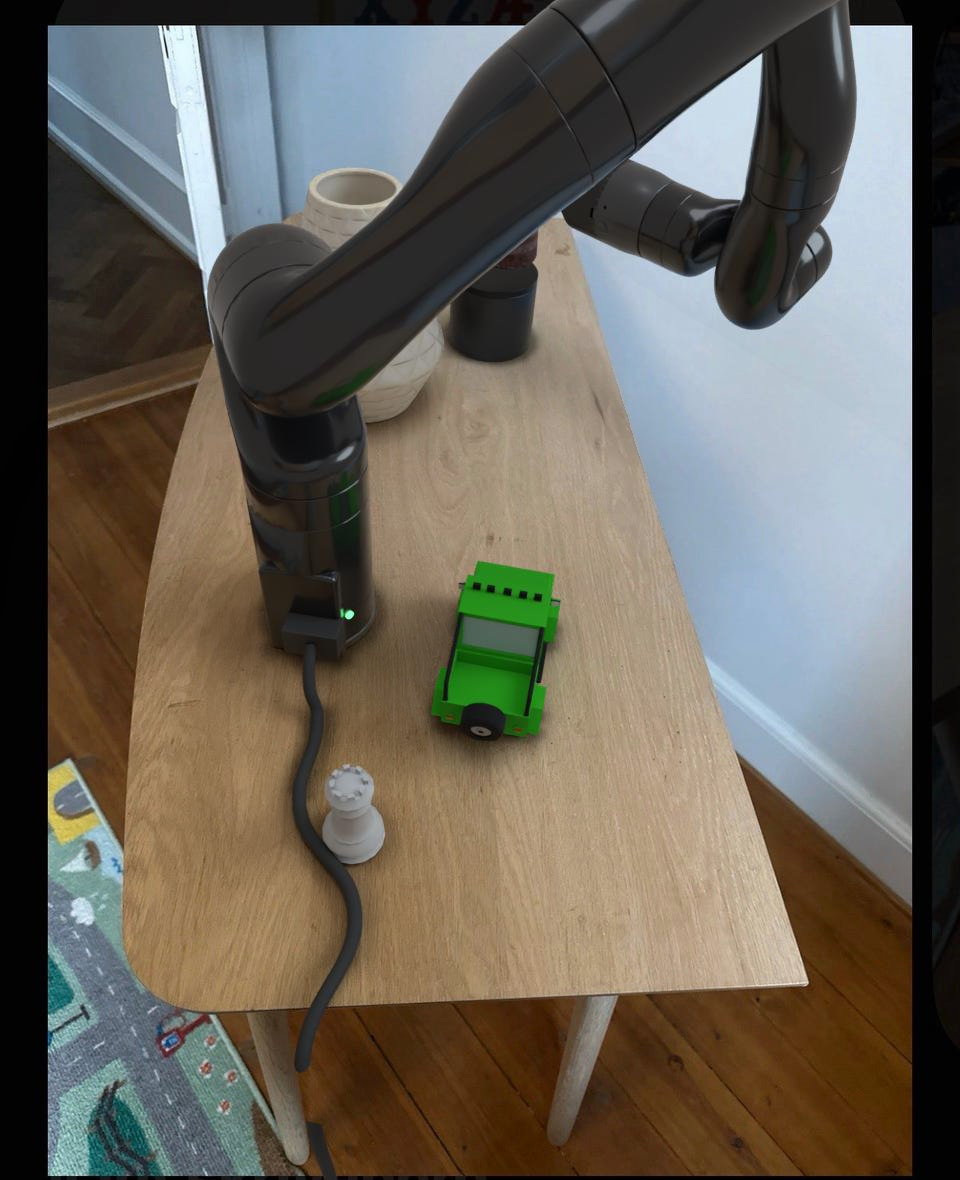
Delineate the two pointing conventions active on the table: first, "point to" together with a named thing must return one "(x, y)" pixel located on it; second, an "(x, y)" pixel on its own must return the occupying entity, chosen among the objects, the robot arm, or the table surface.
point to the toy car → (498, 653)
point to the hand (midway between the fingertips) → (491, 146)
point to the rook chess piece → (352, 816)
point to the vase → (335, 217)
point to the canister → (495, 315)
